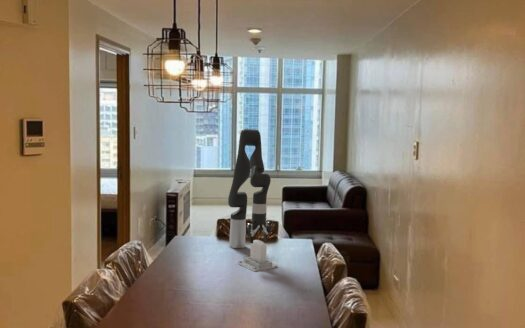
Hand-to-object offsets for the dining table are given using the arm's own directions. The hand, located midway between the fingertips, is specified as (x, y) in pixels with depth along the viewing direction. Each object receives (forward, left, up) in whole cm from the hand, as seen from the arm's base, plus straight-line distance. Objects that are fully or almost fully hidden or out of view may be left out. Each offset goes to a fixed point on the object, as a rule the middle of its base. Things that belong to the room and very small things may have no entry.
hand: (258, 242), depth 261 cm
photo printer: (0, 0, -12) cm, 12 cm away
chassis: (0, 0, -13) cm, 13 cm away
